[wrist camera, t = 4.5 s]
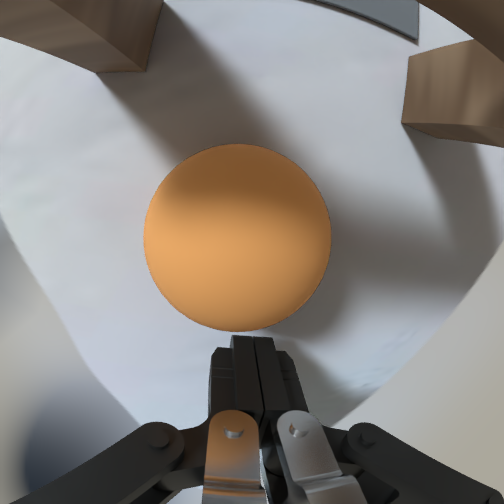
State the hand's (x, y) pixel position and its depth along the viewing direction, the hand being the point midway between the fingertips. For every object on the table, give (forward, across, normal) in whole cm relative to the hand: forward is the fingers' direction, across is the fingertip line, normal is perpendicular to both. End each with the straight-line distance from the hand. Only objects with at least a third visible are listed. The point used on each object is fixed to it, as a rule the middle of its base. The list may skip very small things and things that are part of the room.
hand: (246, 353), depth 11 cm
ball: (-1, +1, -5) cm, 5 cm away
